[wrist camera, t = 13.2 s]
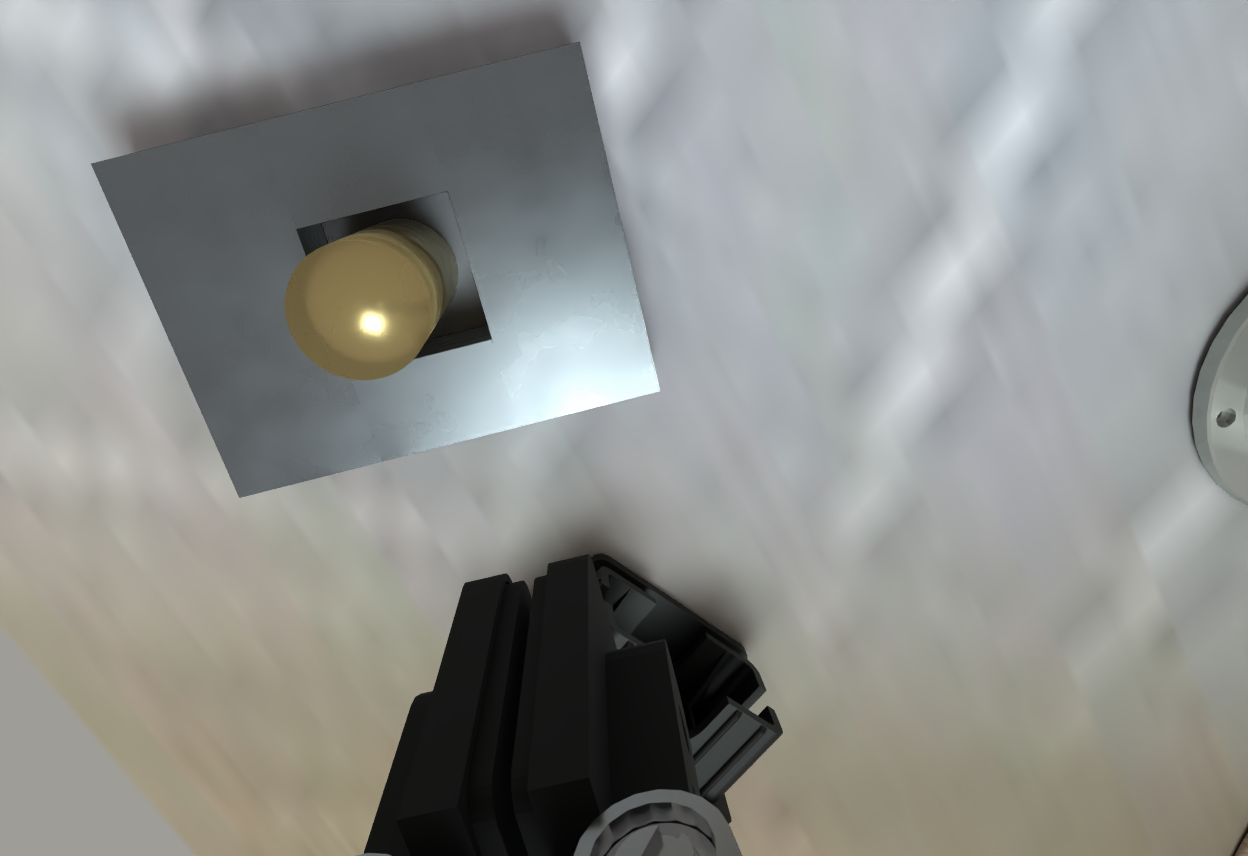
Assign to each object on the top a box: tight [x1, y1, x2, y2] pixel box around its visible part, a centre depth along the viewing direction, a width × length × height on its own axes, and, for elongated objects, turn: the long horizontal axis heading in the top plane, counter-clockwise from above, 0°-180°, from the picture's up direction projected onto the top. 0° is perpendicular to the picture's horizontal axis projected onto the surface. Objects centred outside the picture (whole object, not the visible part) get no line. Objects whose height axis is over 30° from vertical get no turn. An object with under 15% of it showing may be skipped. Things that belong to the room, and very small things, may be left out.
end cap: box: [591, 554, 783, 824], centre depth 33 cm, size 10×7×7 cm
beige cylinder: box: [285, 219, 458, 380], centre depth 26 cm, size 4×4×8 cm
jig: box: [91, 42, 660, 498], centre depth 29 cm, size 16×12×3 cm
